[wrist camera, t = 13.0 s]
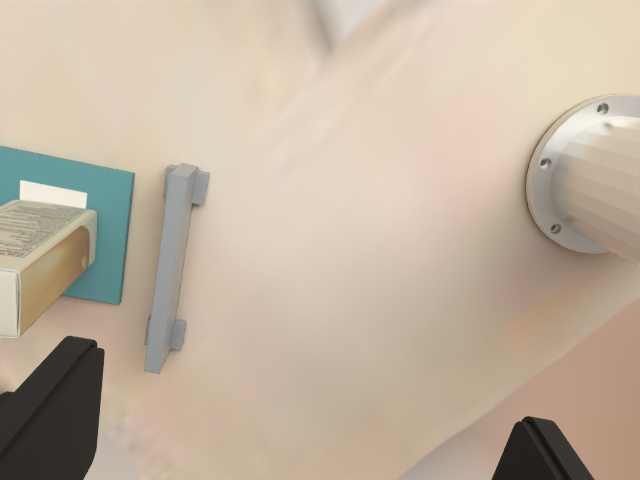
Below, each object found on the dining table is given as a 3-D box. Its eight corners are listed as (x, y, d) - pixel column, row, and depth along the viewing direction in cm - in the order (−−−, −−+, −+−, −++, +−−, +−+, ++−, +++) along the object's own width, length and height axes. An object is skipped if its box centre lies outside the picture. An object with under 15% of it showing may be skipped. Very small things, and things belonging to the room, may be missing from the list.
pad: (134, 173, 37) (131, 175, 37) (120, 301, 41) (118, 305, 40) (-19, 142, 36) (-24, 143, 35) (-20, 277, 39) (-25, 280, 39)
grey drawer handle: (209, 169, 38) (200, 180, 34) (182, 348, 43) (171, 375, 39) (170, 160, 37) (156, 171, 33) (146, 342, 42) (132, 369, 38)
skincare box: (15, 250, 38) (-106, 328, 27) (13, 196, 37) (-114, 254, 25) (100, 262, 39) (19, 343, 27) (102, 209, 37) (17, 271, 26)
